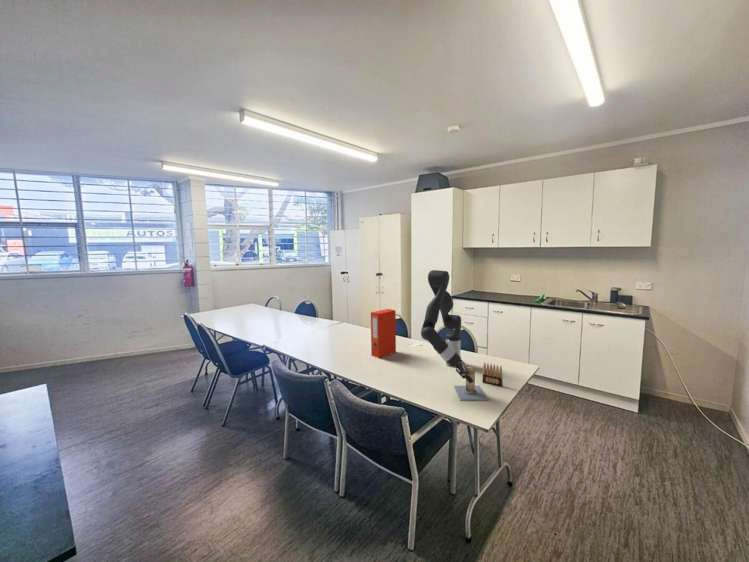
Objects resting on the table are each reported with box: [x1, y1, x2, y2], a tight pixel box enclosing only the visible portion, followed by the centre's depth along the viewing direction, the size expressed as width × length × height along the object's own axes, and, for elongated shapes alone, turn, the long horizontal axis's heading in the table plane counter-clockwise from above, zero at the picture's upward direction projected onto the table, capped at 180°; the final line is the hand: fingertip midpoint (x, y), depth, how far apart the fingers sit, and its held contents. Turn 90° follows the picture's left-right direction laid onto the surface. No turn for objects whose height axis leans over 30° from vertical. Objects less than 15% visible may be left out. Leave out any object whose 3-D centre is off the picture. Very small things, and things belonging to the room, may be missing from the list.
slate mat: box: [453, 385, 489, 402], centre depth 169 cm, size 16×14×1 cm
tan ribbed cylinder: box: [464, 366, 476, 395], centre depth 168 cm, size 6×6×13 cm
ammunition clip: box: [482, 362, 504, 388], centre depth 179 cm, size 11×2×12 cm, turn 54°
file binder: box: [370, 308, 397, 359], centre depth 231 cm, size 8×17×32 cm, turn 132°
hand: (472, 378), depth 168 cm, fingers open, 8 cm apart
